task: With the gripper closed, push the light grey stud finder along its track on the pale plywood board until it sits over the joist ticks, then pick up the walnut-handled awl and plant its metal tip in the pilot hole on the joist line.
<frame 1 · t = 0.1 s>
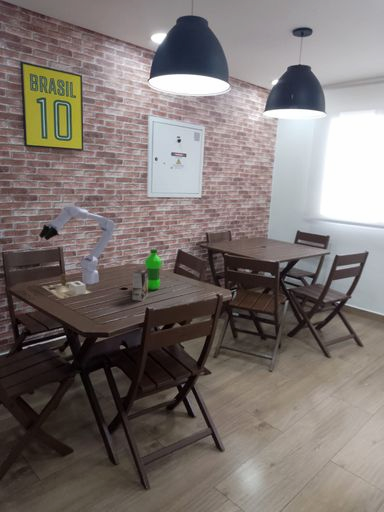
hand: (42, 237, 206), 32 cm above the table, tool tilted 50°, fingers open, 7 cm apart
coffee box: (140, 298, 211), on the table
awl: (63, 285, 224), point 1 cm above the table, touching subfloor
stud finder: (77, 287, 212), point 4 cm above the table, slide at 0.0 cm
plastic bottle: (152, 288, 231), on the table
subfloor: (66, 291, 216), on the table
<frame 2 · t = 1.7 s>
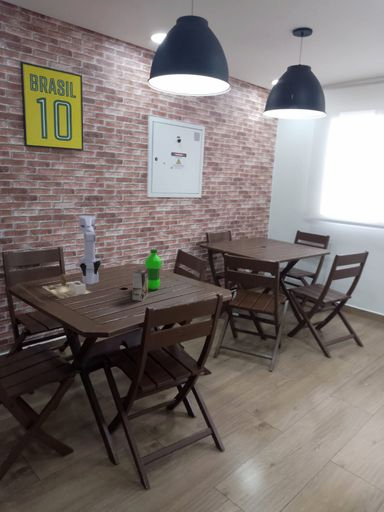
hand: (90, 275, 216), 10 cm above the table, tool pointing down, fingers open, 6 cm apart
nothing on the table moved.
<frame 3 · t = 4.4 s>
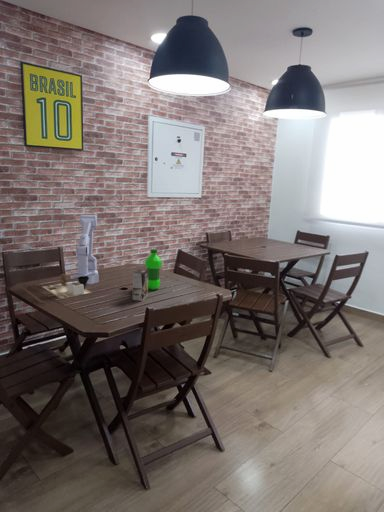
hand: (83, 288, 214), 3 cm above the table, tool pointing down, fingers closed
stud finder: (75, 287, 211), point 4 cm above the table, slide at 1.2 cm, touching gripper
everything else where it was.
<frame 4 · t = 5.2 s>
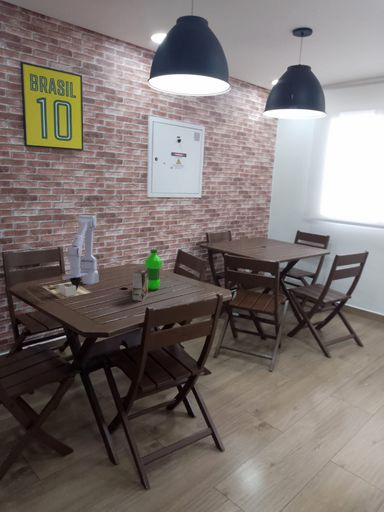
hand: (75, 290, 211), 3 cm above the table, tool pointing down, fingers closed
stud finder: (67, 288, 208), point 4 cm above the table, slide at 5.9 cm, touching gripper
everything else where it was.
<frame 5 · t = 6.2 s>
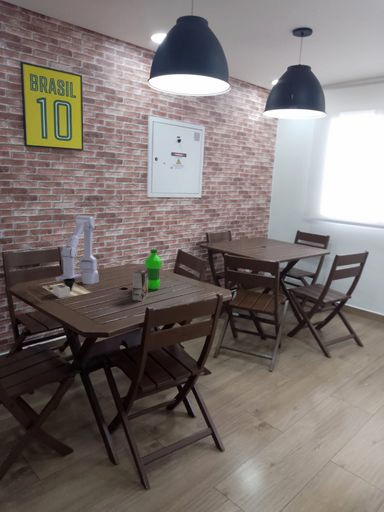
hand: (69, 291, 209), 3 cm above the table, tool pointing down, fingers closed
stud finder: (61, 290, 205), point 4 cm above the table, slide at 9.6 cm, touching gripper
everything else where it was.
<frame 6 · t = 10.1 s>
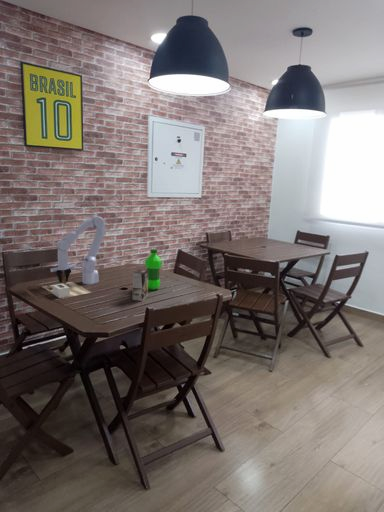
hand: (63, 281, 223), 3 cm above the table, tool pointing down, fingers closed on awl, 3 cm apart
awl: (63, 285, 224), point 1 cm above the table, touching gripper, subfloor
stud finder: (61, 290, 205), point 4 cm above the table, slide at 9.7 cm
everything else where it was.
when the fingers open (3 cm above the table, at t = 13.9 s): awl drops 1 cm, resting in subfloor.
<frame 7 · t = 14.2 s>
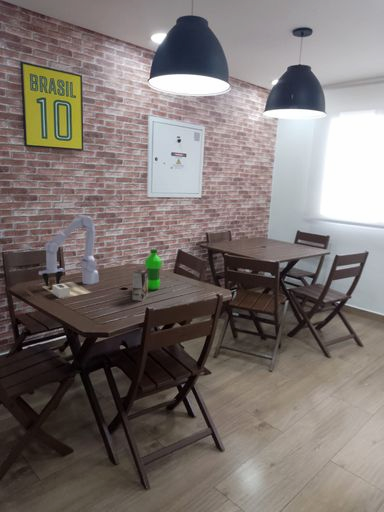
hand: (52, 285, 216), 3 cm above the table, tool pointing down, fingers open, 6 cm apart
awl: (52, 290, 217), resting in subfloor
everything else where it was.
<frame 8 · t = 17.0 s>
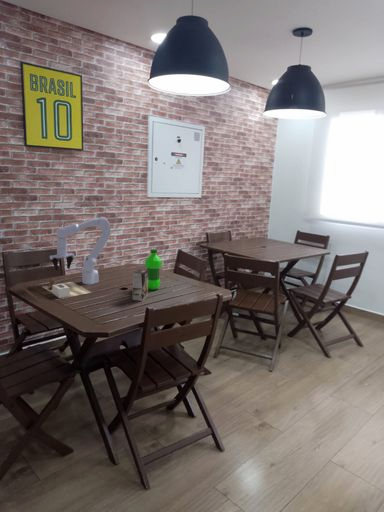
hand: (62, 269, 225), 10 cm above the table, tool pointing down, fingers open, 7 cm apart
nothing on the table moved.
at the end: stud finder slide at 9.7 cm; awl 0.1 cm from the target spot on the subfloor, point 0.0 cm above the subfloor's base; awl tilted 0° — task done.
